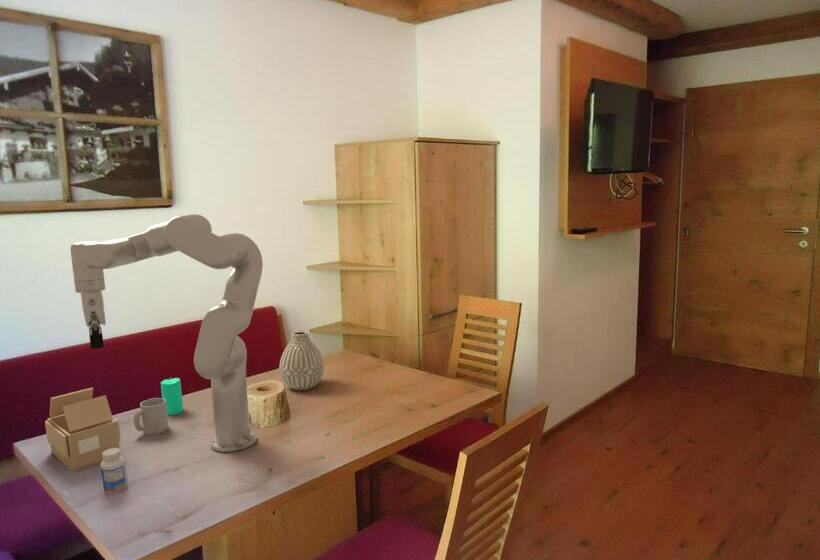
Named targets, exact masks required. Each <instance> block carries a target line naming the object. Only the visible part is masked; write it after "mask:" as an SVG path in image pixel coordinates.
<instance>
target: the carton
mask: <svg viewBox="0 0 820 560" xmlns="http://www.w3.org/2000/svg"><path fill="white" fill-rule="evenodd" d="M44 423H45V424H44V426H45V432H46V439H47V443H49V444H50V449H51V453H52V454H53V455H54V456H55V457H56V458H57V459H58V460H59V461H61V463H63V464H64V465H65V466H66V467H67V468H69V469H70V470H71V471H72V472H76V471H81V470H83V469H85V468H89V467H92V466H94V465H95V466H96V465H97V464H101V462H102V461H103V458H102V453H103V452H104V451H105V450H108V449H111V448H119V449H120V442H121V441H122V440H121V431H120V422H119V420H118V419H117V418H116V417H113V420H110V421H106V422H103V423H99V424H96V425H92V426H89V427H86V428H82V429H79V430H75V431H72V432H70V431H69V428H68V425H67V421H66V418H65V414H64V413H63V414H60V415H56V416H52V417H48V418H46V420H45V421H44ZM120 450H121V449H120Z"/></svg>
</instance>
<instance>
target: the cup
mask: <svg viewBox="0 0 820 560" xmlns="http://www.w3.org/2000/svg"><path fill="white" fill-rule="evenodd" d="M139 406H140V409H138V410H137V411H136V412H135V413H134V416H133V425H134V428H135V429H136V430H137V431H138V432H143V433H144V434H145V435H150V436H151V435H152V436H153V435H159V434H163V433H164V432H166V431H168V429H169V419H168V418H169V417H168V416H169V415H167V407H166V400H165V399H163V398H162V397H153V398H149V399H146V400H143V401H141V402H140V404H139ZM140 418H141V423H142V424H141V423H140Z"/></svg>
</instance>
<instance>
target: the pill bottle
mask: <svg viewBox="0 0 820 560" xmlns="http://www.w3.org/2000/svg"><path fill="white" fill-rule="evenodd" d="M102 458H103V461H102V462H101V463H100V469H101V470H100V471H101V478H102V479H101V480H102V487H103V491H104V492H105V493H107V494H116V493H120V492H122V491H124V490H125V489H126V488H127V487H129V486H128V485H129V484H128V475H127V468H126V461H125V458H124V457H123V456H122V453H121V449H119V448H111V449H108V450H105V451H104V452H103V453H102Z"/></svg>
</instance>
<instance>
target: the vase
mask: <svg viewBox="0 0 820 560" xmlns="http://www.w3.org/2000/svg"><path fill="white" fill-rule="evenodd" d="M324 362H325V361H324V358H323V356H322V354H321V351H320V350H319V348H318V347H317V346H316V344H315V343H314V342H313V341H312V340H311V338H310V335H309V333H308V332H307V331H304V330H300V331H299V330H298V331H294V332H292V334H291V336H290V340H289V341H288V343H287V345H286V347H285V348H284V350H283V352H282V354H281V357H280V361H279V365H278V366H279V368H278V369H279V370H278V371H279V373H280V378H281V379H282V382H284V384H285V385H286V386H287V387H288V388H290V389H292V390H294V391H307V390H310V389H314V388H315V387H316V386H317V385H318V384H319V383H320V382H321V380H322V378H323V376H324V372H325V363H324Z"/></svg>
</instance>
